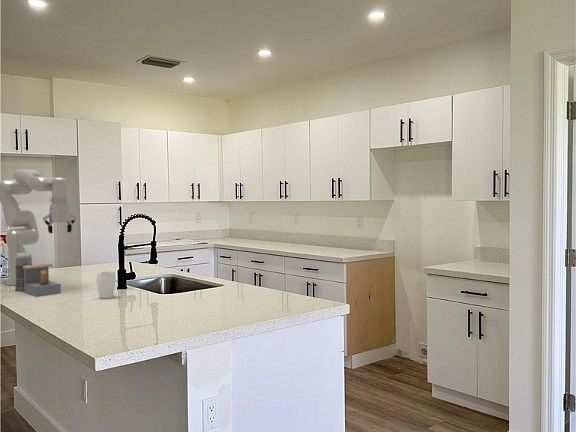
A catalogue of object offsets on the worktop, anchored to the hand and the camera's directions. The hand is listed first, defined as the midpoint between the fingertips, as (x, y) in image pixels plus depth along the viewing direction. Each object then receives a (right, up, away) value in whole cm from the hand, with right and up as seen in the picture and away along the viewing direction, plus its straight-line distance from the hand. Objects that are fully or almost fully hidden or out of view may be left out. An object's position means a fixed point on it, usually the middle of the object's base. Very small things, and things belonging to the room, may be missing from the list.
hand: (60, 232), depth 275 cm
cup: (+32, -32, -20) cm, 49 cm away
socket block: (-6, -31, -8) cm, 33 cm away
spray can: (-20, -31, +1) cm, 37 cm away
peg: (-3, -31, -10) cm, 33 cm away
